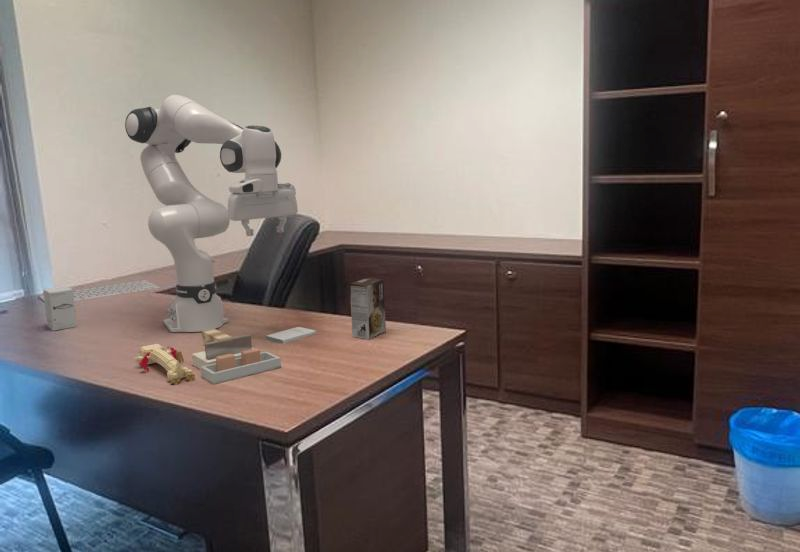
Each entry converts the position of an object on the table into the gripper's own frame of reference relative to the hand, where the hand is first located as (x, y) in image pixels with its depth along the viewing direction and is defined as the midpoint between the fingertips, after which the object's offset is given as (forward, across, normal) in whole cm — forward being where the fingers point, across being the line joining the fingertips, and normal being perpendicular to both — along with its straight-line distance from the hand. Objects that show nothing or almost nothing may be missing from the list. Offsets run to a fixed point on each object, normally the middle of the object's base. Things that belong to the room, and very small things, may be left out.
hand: (265, 234), depth 194 cm
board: (+31, +20, +12) cm, 39 cm away
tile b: (+28, +16, +19) cm, 38 cm away
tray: (+31, +20, +21) cm, 42 cm away
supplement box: (+31, +43, -63) cm, 82 cm away
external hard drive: (+32, -6, +1) cm, 32 cm away
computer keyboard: (+32, +18, -113) cm, 118 cm away
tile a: (+28, +23, +18) cm, 41 cm away
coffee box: (+31, -23, +16) cm, 42 cm away
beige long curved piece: (+32, +34, +6) cm, 47 cm away
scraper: (+28, +20, +8) cm, 35 cm away
